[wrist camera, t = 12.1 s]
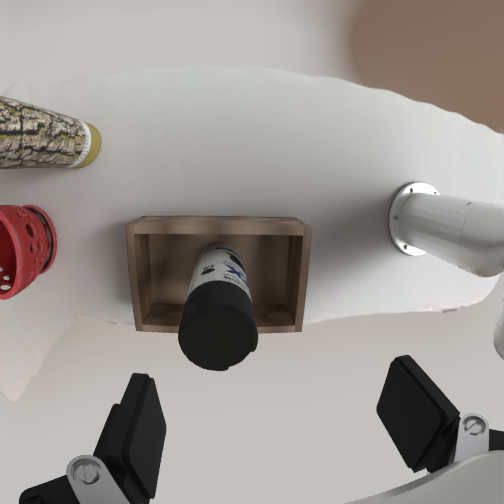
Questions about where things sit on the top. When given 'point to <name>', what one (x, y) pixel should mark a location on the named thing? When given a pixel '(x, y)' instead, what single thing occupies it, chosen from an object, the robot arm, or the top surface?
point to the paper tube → (44, 138)
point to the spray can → (218, 311)
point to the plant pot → (24, 246)
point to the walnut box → (191, 245)
